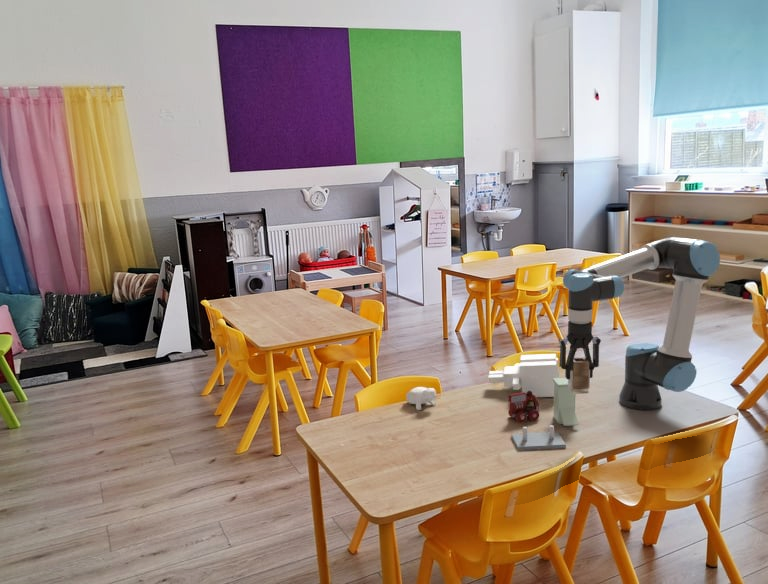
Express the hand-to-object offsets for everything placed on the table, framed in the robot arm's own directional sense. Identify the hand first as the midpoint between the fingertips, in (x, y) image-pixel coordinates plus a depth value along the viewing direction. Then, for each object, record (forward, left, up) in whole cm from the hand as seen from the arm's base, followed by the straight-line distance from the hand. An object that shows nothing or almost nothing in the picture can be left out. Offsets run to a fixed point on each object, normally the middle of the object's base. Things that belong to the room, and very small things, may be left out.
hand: (578, 387), depth 218 cm
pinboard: (+14, +2, -18) cm, 23 cm away
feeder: (0, -12, -18) cm, 22 cm away
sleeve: (0, 0, -1) cm, 1 cm away
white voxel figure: (+8, -45, -19) cm, 49 cm away
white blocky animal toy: (+50, -35, -19) cm, 64 cm away
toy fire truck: (+14, -18, -19) cm, 29 cm away
